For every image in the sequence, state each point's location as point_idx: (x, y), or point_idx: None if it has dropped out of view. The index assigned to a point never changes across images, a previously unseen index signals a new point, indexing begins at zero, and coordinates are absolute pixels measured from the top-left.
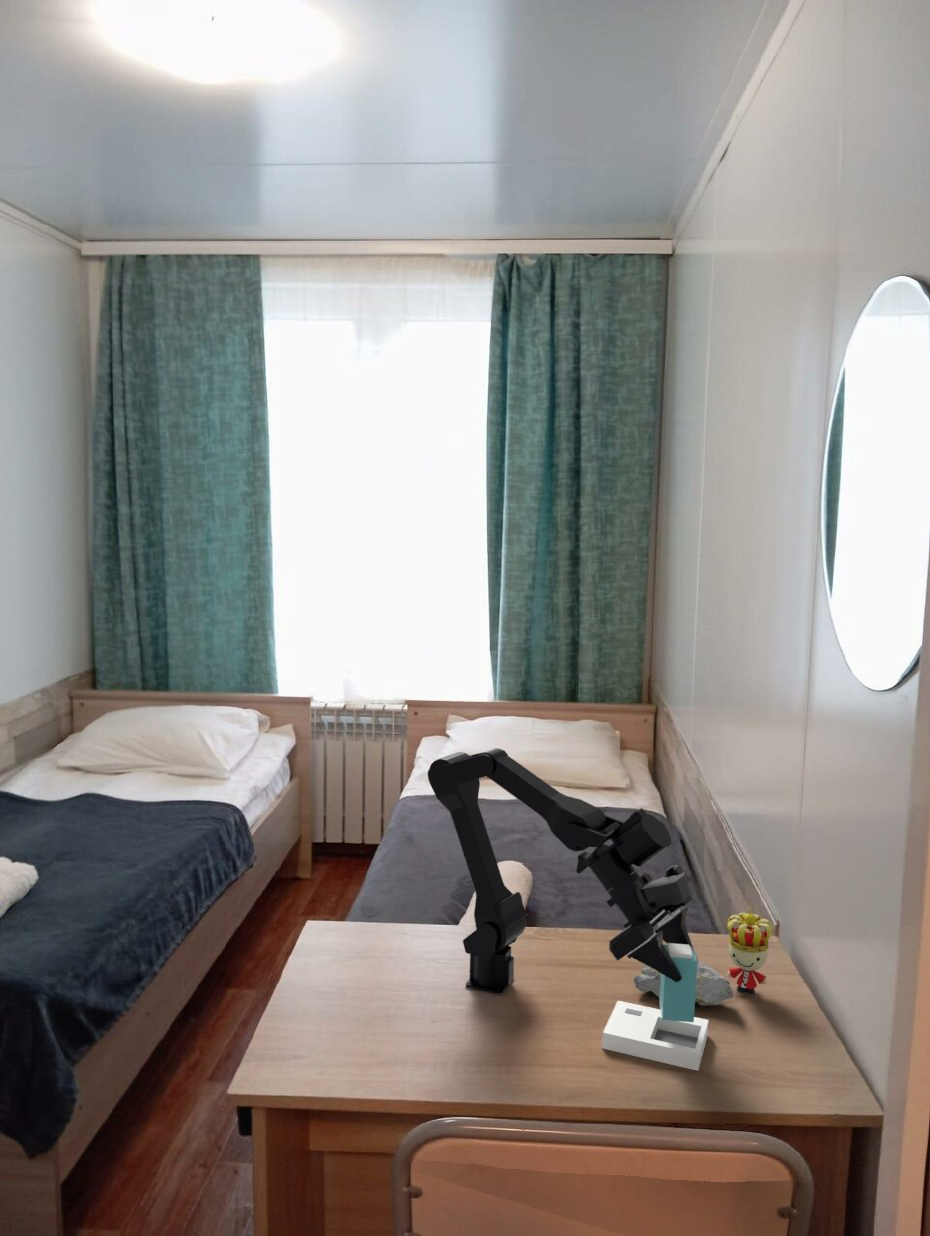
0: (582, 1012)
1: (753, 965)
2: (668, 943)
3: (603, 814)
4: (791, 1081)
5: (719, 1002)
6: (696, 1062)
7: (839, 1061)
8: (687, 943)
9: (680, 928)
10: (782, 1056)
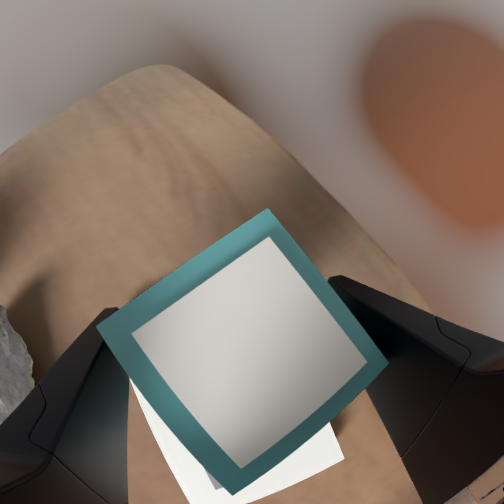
0: None
1: None
2: (241, 461)
3: None
4: (165, 141)
5: (19, 335)
6: None
7: (67, 119)
8: (91, 374)
9: (52, 464)
10: (98, 179)
